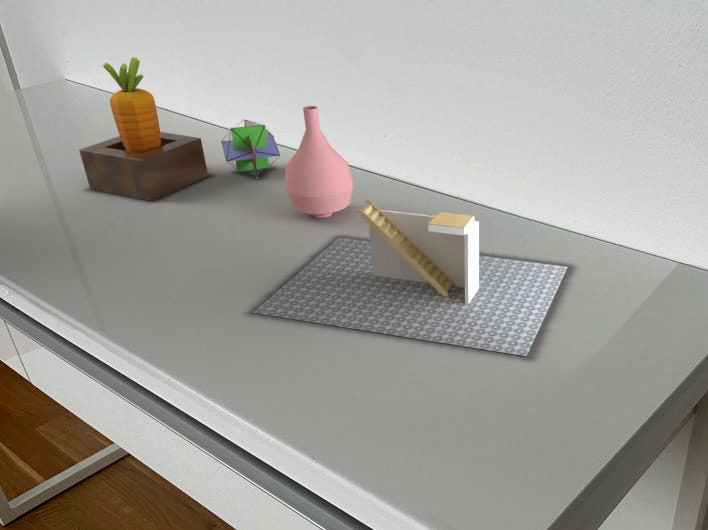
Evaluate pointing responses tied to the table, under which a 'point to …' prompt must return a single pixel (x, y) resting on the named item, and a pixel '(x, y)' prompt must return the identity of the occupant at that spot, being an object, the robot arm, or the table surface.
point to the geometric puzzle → (250, 147)
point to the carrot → (134, 110)
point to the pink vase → (317, 173)
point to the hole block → (144, 167)
